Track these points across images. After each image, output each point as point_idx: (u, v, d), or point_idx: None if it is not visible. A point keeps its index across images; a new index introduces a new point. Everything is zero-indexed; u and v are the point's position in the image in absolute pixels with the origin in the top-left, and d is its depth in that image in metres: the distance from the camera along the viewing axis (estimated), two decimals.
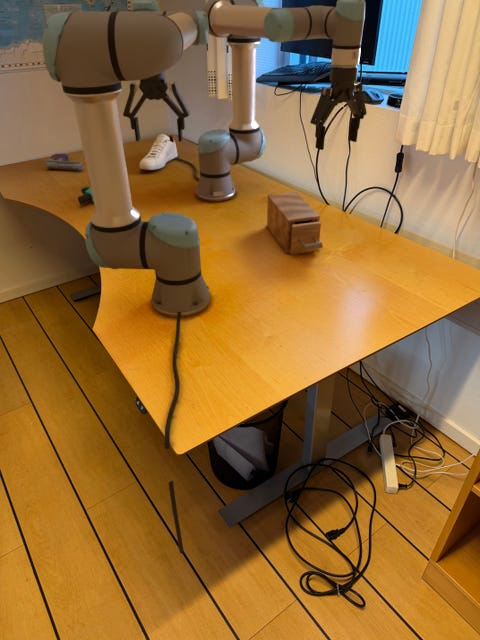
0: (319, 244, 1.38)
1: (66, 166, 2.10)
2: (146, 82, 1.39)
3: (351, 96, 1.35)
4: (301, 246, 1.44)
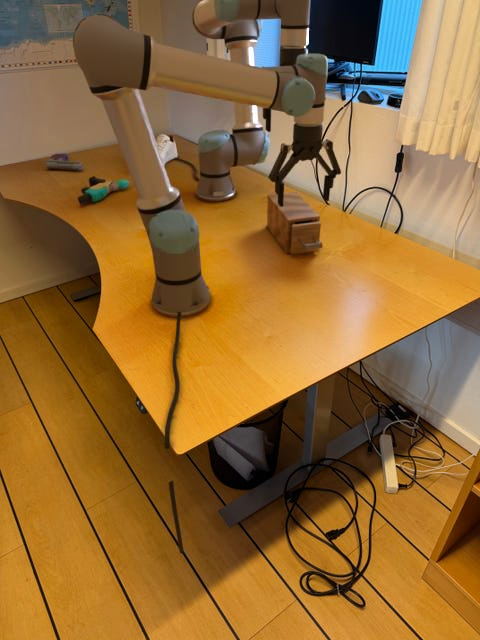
0: (319, 244, 1.38)
1: (66, 166, 2.10)
2: (302, 142, 1.23)
3: None
4: (301, 246, 1.44)
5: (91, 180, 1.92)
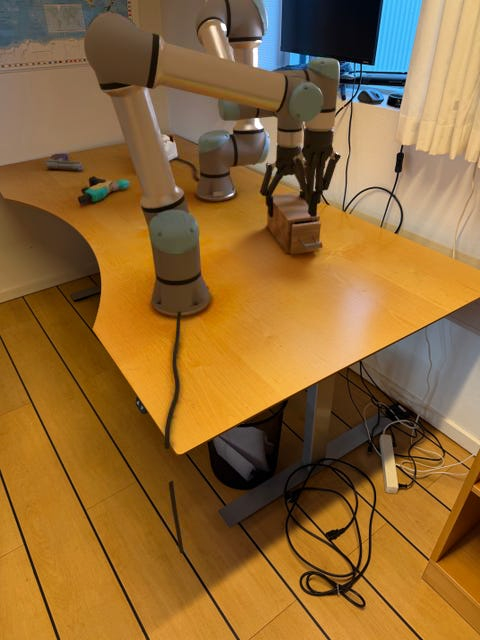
0: (319, 244, 1.38)
1: (66, 166, 2.10)
2: (313, 147, 1.22)
3: None
4: (301, 246, 1.44)
5: (91, 180, 1.92)
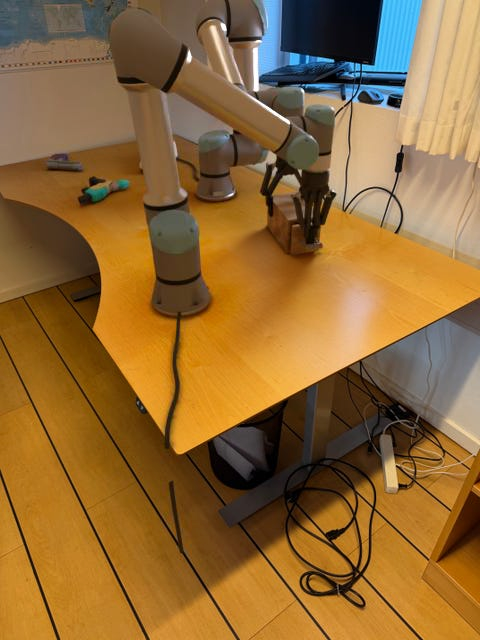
0: (319, 244, 1.38)
1: (66, 166, 2.10)
2: (310, 186, 1.28)
3: None
4: (301, 246, 1.44)
5: (91, 180, 1.92)
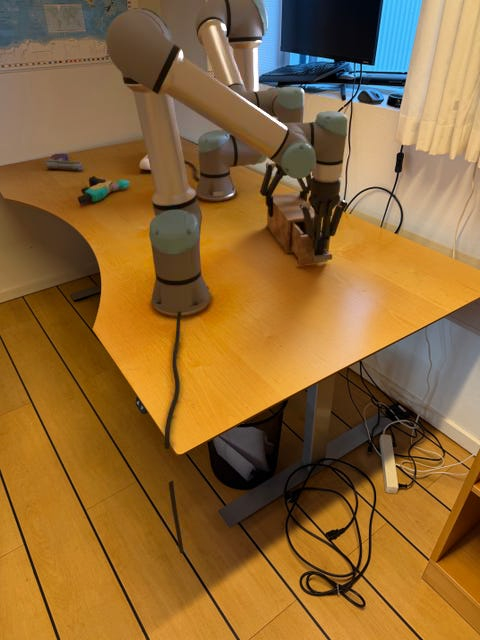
0: (329, 255, 1.32)
1: (66, 166, 2.10)
2: (320, 196, 1.23)
3: None
4: (310, 257, 1.38)
5: (91, 180, 1.92)
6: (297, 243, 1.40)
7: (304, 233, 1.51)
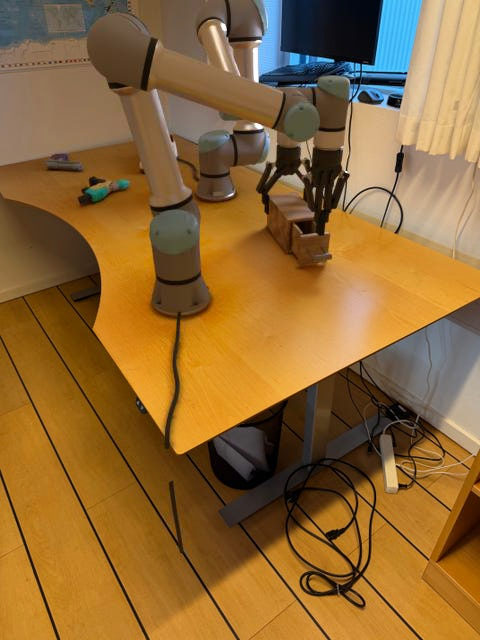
0: (328, 255, 1.32)
1: (66, 166, 2.10)
2: (321, 166, 1.19)
3: None
4: (309, 257, 1.38)
5: (91, 180, 1.92)
6: (297, 243, 1.40)
7: (304, 233, 1.51)
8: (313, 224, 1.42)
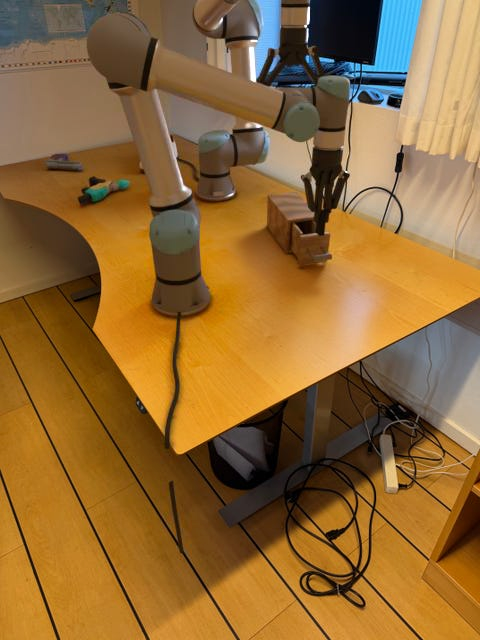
0: (328, 255, 1.32)
1: (66, 166, 2.10)
2: (321, 166, 1.19)
3: None
4: (309, 257, 1.38)
5: (91, 180, 1.92)
6: (297, 243, 1.40)
7: (304, 233, 1.51)
8: (313, 224, 1.42)
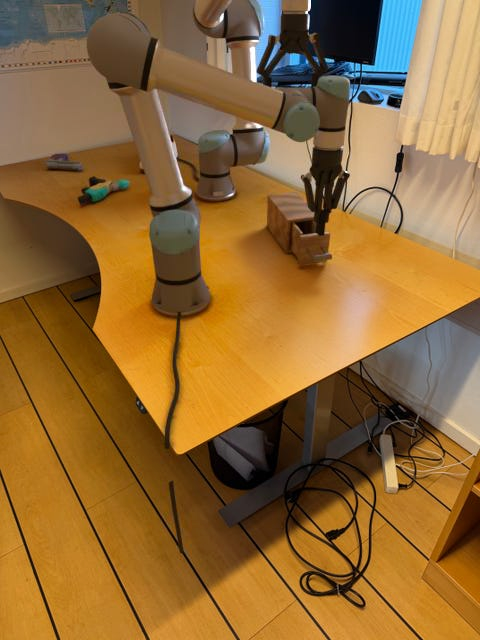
0: (328, 255, 1.32)
1: (66, 166, 2.10)
2: (321, 166, 1.19)
3: None
4: (309, 257, 1.38)
5: (91, 180, 1.92)
6: (297, 243, 1.40)
7: (304, 233, 1.51)
8: (313, 224, 1.42)
